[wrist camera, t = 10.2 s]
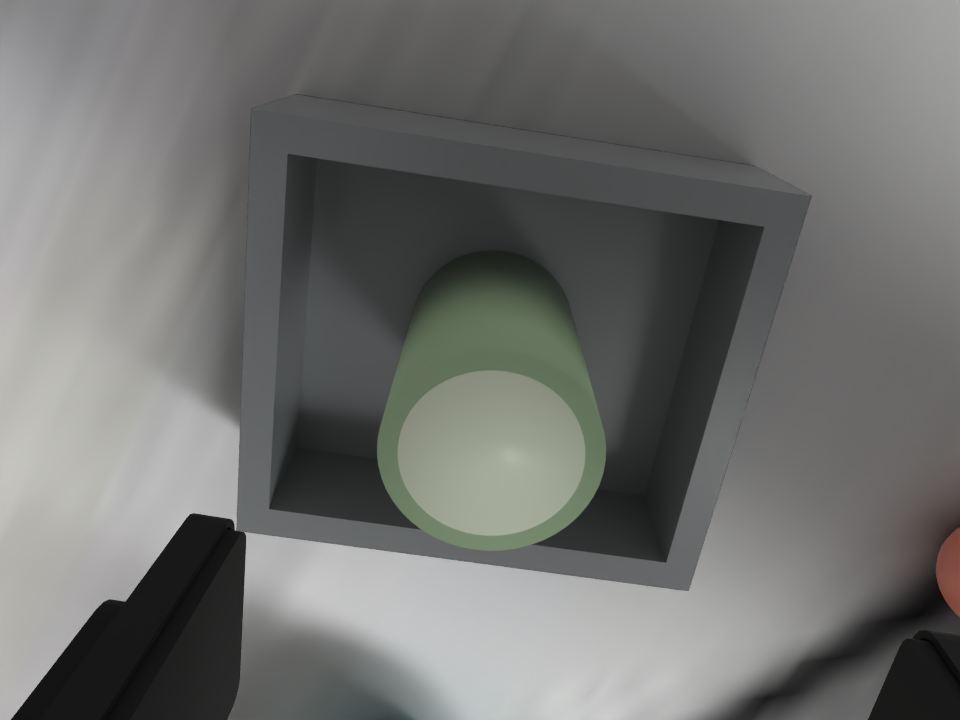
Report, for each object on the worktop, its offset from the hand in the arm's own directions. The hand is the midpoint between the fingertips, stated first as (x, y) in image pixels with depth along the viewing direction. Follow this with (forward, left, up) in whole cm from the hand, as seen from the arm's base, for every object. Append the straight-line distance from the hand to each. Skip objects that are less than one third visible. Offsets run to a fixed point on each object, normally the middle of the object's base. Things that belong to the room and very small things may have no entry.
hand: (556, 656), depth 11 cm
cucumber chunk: (+1, 0, -12) cm, 12 cm away
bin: (+1, 0, -12) cm, 12 cm away
